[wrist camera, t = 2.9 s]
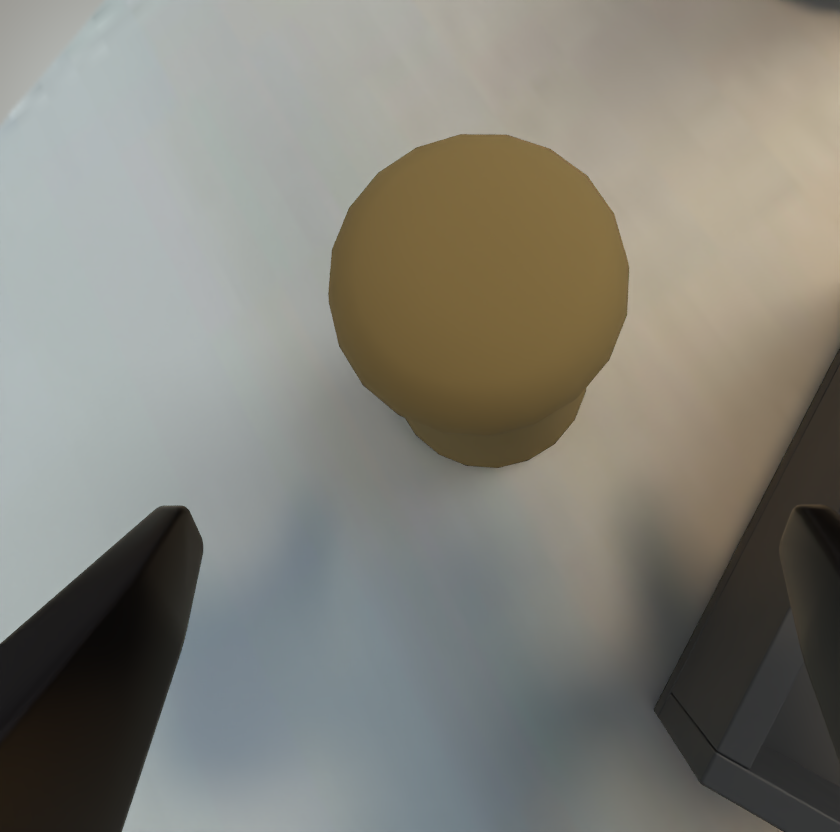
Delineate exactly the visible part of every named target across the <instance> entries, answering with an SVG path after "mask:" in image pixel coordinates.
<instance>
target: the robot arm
mask: <svg viewBox="0 0 840 832" xmlns="http://www.w3.org/2000/svg"><path fill="white" fill-rule="evenodd" d="M779 554H780V560H781V565H782V569H783V574H784V578H785V583H786V587H787V592H788V596H789V601H790V605H791V609H792V614H793V618H794V623H795V627H796V632H797V636H798V641H799V645H800V649H801V653H802V657H803V660H804V663H805V666H806V669H807V672H808V675H809V678H810V681H811V684H812V687H813V689H814V692H815V695H816V698H817V701H818V704H819V706H820V709H821V712H822V715H823V718H824V721H825V723H826V726H827V729H828V732H829V735H830V738H831V740H832V743H833V746H834V749H835V752H836V755H837V757H838V760H839V763H840V514H838V513H837V512H836V511H835V510H834V509H832V508H831V507H829V506H826V505H797V506H796V507H795V508H793V510H792V512H791V514H790V517H789V520H788V522H787V525H786V528H785V530H784V533H783V535H782V538H781V541H780V546H779ZM202 555H203V541H202V537H201V535H200V533H199V531H198V528H197V526H196V524H195V522H194V520H193V518H192V515H191V513H190V511H189V510H188V509H187V508H186V507H185V506H160V507H158V508H157V509H155V510H154V511H153V512H152V513H150V514H149V515H148V516H147V517H146V518H145V519H144V520H142V521H141V522H140V523H139V524H138V525H137V526H135V527H134V528H133V529H132V530H131V531H130V532H129V533H127V534H126V535H125V536H124V537H123V538H122V539H120V540H119V541H118V542H117V543H116V544H115V545H114V546H112V547H111V548H110V549H109V550H108V551H107V552H105V553H104V554H103V555H102V556H101V557H100V558H99V559H97V560H96V561H95V562H94V563H93V564H92V565H90V566H89V567H88V568H87V569H86V570H85V571H84V572H82V573H81V574H80V575H79V576H78V577H77V578H76V579H74V580H73V581H72V582H71V583H70V584H69V585H67V586H66V587H65V588H64V589H63V590H62V591H61V592H59V593H58V594H57V595H56V596H55V597H54V598H52V599H51V600H50V601H49V602H48V603H47V604H46V605H44V606H43V607H42V608H41V609H40V610H39V611H37V612H36V613H35V614H34V615H33V616H32V617H31V618H29V619H28V620H27V621H26V622H25V623H24V624H22V625H21V626H20V627H19V628H18V629H17V630H16V631H14V632H13V633H12V634H11V635H10V636H9V637H7V638H6V639H5V640H4V641H3V642H2V643H1V644H0V832H122V829H123V826H124V823H125V820H126V817H127V814H128V811H129V808H130V805H131V802H132V799H133V796H134V793H135V790H136V787H137V784H138V781H139V778H140V775H141V772H142V768H143V765H144V762H145V759H146V756H147V753H148V750H149V747H150V744H151V741H152V738H153V735H154V732H155V729H156V726H157V723H158V720H159V717H160V714H161V711H162V708H163V705H164V702H165V699H166V696H167V693H168V690H169V687H170V684H171V681H172V678H173V675H174V671H175V668H176V665H177V662H178V659H179V656H180V653H181V650H182V646H183V643H184V639H185V635H186V631H187V627H188V622H189V617H190V612H191V608H192V603H193V598H194V593H195V589H196V584H197V579H198V574H199V570H200V565H201V560H202Z"/></svg>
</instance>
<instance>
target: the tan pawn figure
mask: <svg viewBox="0 0 840 832" xmlns="http://www.w3.org/2000/svg"><path fill="white" fill-rule="evenodd" d="M628 281H629V265H628V261H627V257H626V253H625V250H624V247H623V243H622V240H621V236H620V233H619V229H618V226H617V223H616V219H615V216H614V213H613V212H612V210H611V209H610V207H609V206H608V205H607V203H606V202H605V200H604V199H603V198H602V196H601V195H600V193H599V192H598V190H597V189H596V188H595V186H594V185H593V183H592V182H591V181H590V179H589V178H588V176H587V175H585V174H584V173H582V172H581V171H580V170H578V169H577V168H576V167H574V166H573V165H572V164H570V163H569V162H567V161H566V160H565V159H563V158H562V157H561V156H559V155H558V154H556V153H555V152H554V151H552V150H551V149H549V148H546V147H543V146H540V145H536V144H533V143H530V142H527V141H524V140H521V139H518V138H515V137H512V136H509V135H467V134H460V135H457V136H454V137H450V138H447V139H444V140H440V141H437V142H434V143H430V144H427V145H423V146H420V147H417V148H415V149H414V150H412V151H411V152H409V153H407V154H406V155H404V156H403V157H401V158H400V159H398V160H397V161H395V162H394V163H392V164H391V165H389V166H388V167H386V168H385V169H383V170H382V171H380V172H379V173H378V174H377V175H376V176H375V177H374V179H373V180H372V181H371V182H370V183H369V185H368V186H367V187H366V188H365V189H364V191H363V192H362V193H361V194H360V196H359V197H358V198H357V199H356V200H355V202H354V203H353V204H352V205H351V206H350V208H349V210H348V212H347V215H346V217H345V219H344V222H343V224H342V227H341V229H340V232H339V234H338V236H337V239H336V241H335V244H334V246H333V249H332V257H331V269H330V281H329V293H328V295H329V305H330V309H331V313H332V317H333V322H334V326H335V330H336V334H337V339H338V343H339V347H340V348H341V350H342V352H343V353H344V355H345V356H346V358H347V360H348V361H349V363H350V365H351V366H352V368H353V370H354V371H355V373H356V374H357V376H358V378H359V379H360V381H361V383H362V384H363V385H364V386H365V387H366V388H367V389H368V390H370V391H371V392H372V393H373V394H374V395H376V396H377V397H378V398H379V399H380V400H381V401H383V402H384V403H385V404H386V405H387V406H389V407H390V408H391V409H392V410H393V411H395V412H396V413H397V414H398V415H400V416H402V417H405V418H406V420H407V422H408V423H409V425H410V426H411V428H412V430H413V431H414V433H415V434H416V435H417V436H418V437H419V438H420V439H421V440H422V441H424V442H425V443H426V444H427V445H428V446H430V447H431V448H432V449H433V450H434V451H436V452H437V453H438V454H440V455H442V456H444V457H447V458H449V459H452V460H454V461H457V462H459V463H462V464H464V465H467V466H479V467H494V468H499V467H503V466H507V465H511V464H515V463H519V462H523V461H527V460H529V459H531V458H533V457H534V456H536V455H537V454H539V453H541V452H542V451H544V450H545V449H547V448H549V447H550V446H552V445H553V444H555V443H556V441H557V440H558V439H559V438H560V437H561V435H562V434H563V433H564V432H565V431H566V429H567V428H568V427H569V426H570V425H571V423H572V422H573V421H574V420H575V417H576V415H577V412H578V410H579V407H580V405H581V402H582V399H583V397H584V394H585V392H586V387H587V386H588V385H589V383H590V382H591V381H592V380H593V379H594V377H595V376H596V375H597V374H598V373H599V371H600V370H601V369H602V368H603V367H604V365H605V364H606V363H607V362H608V361H609V359H610V356H611V354H612V351H613V349H614V346H615V344H616V341H617V339H618V336H619V334H620V331H621V329H622V326H623V323H624V321H625V318H626V316H627V302H628Z"/></svg>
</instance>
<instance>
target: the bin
mask: <svg viewBox="0 0 840 832" xmlns="http://www.w3.org/2000/svg"><path fill="white" fill-rule="evenodd" d="M797 505H826V506H829V507H831V508H832V509H834V510H835V511H836V512H837V513H838V514H840V349H839V351H838V353H837V355H836V357H835V359H834V361H833V363H832V365H831V367H830V369H829V371H828V373H827V374H826V376H825V378H824V380H823V382H822V384H821V386H820V388H819V390H818V392H817V394H816V396H815V398H814V400H813V402H812V404H811V406H810V407H809V409H808V411H807V413H806V415H805V417H804V419H803V421H802V423H801V425H800V427H799V429H798V431H797V433H796V435H795V437H794V439H793V440H792V442H791V444H790V446H789V448H788V450H787V452H786V454H785V456H784V458H783V460H782V462H781V464H780V466H779V468H778V470H777V472H776V473H775V475H774V477H773V479H772V481H771V483H770V485H769V487H768V489H767V491H766V493H765V495H764V497H763V499H762V501H761V503H760V505H759V506H758V508H757V510H756V512H755V514H754V516H753V518H752V520H751V522H750V524H749V526H748V528H747V530H746V532H745V534H744V536H743V538H742V539H741V541H740V543H739V545H738V547H737V549H736V551H735V553H734V555H733V557H732V559H731V561H730V563H729V565H728V567H727V569H726V570H725V572H724V574H723V576H722V578H721V580H720V582H719V584H718V586H717V588H716V590H715V592H714V594H713V596H712V598H711V600H710V602H709V603H708V605H707V607H706V609H705V611H704V613H703V615H702V617H701V619H700V621H699V623H698V625H697V627H696V629H695V631H694V633H693V635H692V636H691V638H690V640H689V642H688V644H687V646H686V648H685V650H684V652H683V654H682V656H681V658H680V660H679V662H678V664H677V666H676V668H675V669H674V671H673V673H672V675H671V677H670V679H669V681H668V683H667V685H666V687H665V689H664V691H663V693H662V695H661V697H660V699H659V701H658V702H657V704H656V706H655V708H654V712H655V713H656V715H657V716H658V718H659V719H660V721H661V722H662V724H663V725H664V727H665V728H666V730H667V732H668V733H669V735H670V736H671V738H672V739H673V741H674V743H675V744H676V746H677V747H678V749H679V750H680V752H681V753H682V755H683V757H684V758H685V760H686V761H687V763H688V764H689V766H690V768H691V769H692V771H693V772H694V774H695V775H696V777H697V779H698V780H699V782H700V783H701V784H702V785H704V786H705V787H707V788H709V789H711V790H712V791H714V792H716V793H718V794H719V795H721V796H723V797H725V798H726V799H728V800H730V801H731V802H733V803H735V804H737V805H738V806H740V807H742V808H744V809H745V810H747V811H749V812H751V813H752V814H754V815H756V816H757V817H759V818H761V819H763V820H764V821H766V822H768V823H770V824H771V825H773V826H775V827H777V828H778V829H780V830H782V831H784V832H840V763H839V760H838V757H837V755H836V752H835V749H834V746H833V743H832V740H831V738H830V735H829V732H828V729H827V726H826V723H825V721H824V718H823V715H822V712H821V709H820V706H819V704H818V701H817V698H816V695H815V692H814V689H813V687H812V684H811V681H810V678H809V675H808V672H807V669H806V666H805V663H804V660H803V657H802V653H801V649H800V645H799V641H798V636H797V632H796V627H795V623H794V618H793V614H792V609H791V605H790V601H789V596H788V592H787V587H786V583H785V578H784V574H783V569H782V565H781V560H780V554H779V546H780V541H781V538H782V535H783V533H784V530H785V528H786V525H787V522H788V520H789V517H790V514H791V512H792V510H793V508H795V507H796V506H797Z"/></svg>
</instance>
